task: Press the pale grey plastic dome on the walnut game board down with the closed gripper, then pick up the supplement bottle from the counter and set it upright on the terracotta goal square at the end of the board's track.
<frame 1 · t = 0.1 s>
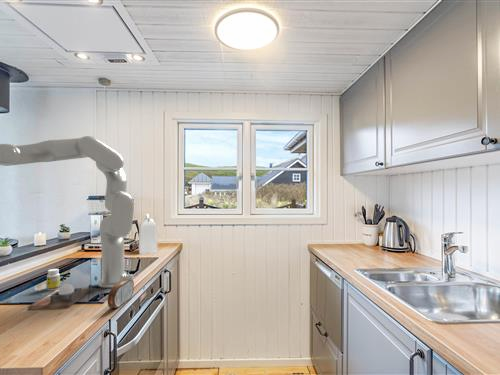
game board: (61, 299, 113), on the counter
tin: (122, 304, 109), on the counter
supplement bottle: (53, 289, 126), on the counter
dome: (66, 289, 112), point 5 cm above the counter, slide at 0.0 cm
milk: (147, 251, 197), on the counter
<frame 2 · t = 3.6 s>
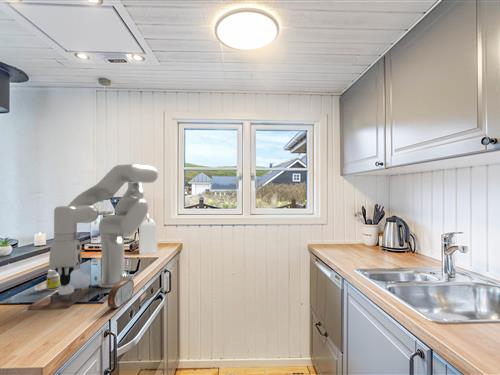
hand: (65, 284, 111), 7 cm above the counter, tool pointing down, fingers closed
dome: (66, 289, 112), point 5 cm above the counter, slide at 0.0 cm, touching gripper
everything else where it was.
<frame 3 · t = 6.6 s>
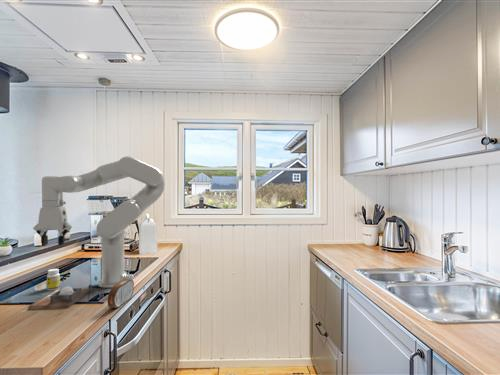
hand: (53, 244, 126), 20 cm above the counter, tool pointing down, fingers open, 6 cm apart
dome: (66, 292, 112), point 4 cm above the counter, slide at 1.0 cm
everything else where it was.
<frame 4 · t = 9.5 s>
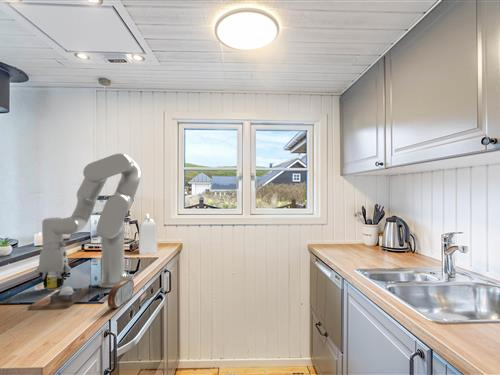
hand: (53, 286, 126), 1 cm above the counter, tool pointing down, fingers closed on supplement bottle, 4 cm apart
supplement bottle: (53, 289, 126), on the counter, touching gripper
everything else where it was.
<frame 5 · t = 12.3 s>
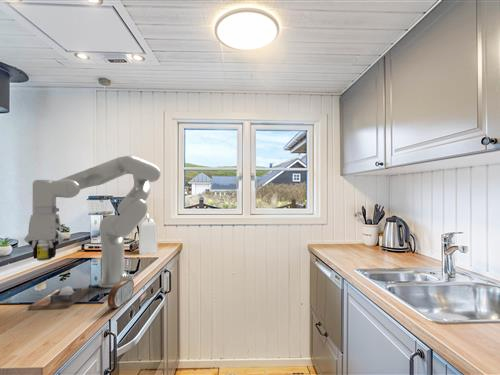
hand: (44, 257, 111), 18 cm above the counter, tool pointing down, fingers closed on supplement bottle, 4 cm apart
supplement bottle: (44, 260, 111), point 16 cm above the counter, touching gripper
everything else where it was.
when the fingers open (4 cm above the counter, at t = 15.3 s): supplement bottle stays where it is, point 2 cm above the counter.
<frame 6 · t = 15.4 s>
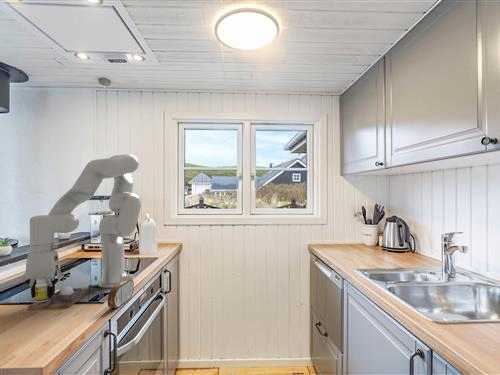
hand: (43, 295, 107), 4 cm above the counter, tool pointing down, fingers open, 4 cm apart
supplement bottle: (43, 300, 107), point 2 cm above the counter
everything else where it was.
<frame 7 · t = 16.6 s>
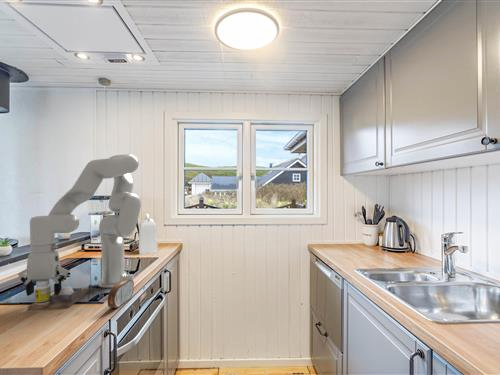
hand: (44, 293, 108), 5 cm above the counter, tool pointing down, fingers open, 9 cm apart
supplement bottle: (43, 303, 107), point 1 cm above the counter, touching game board
everything else where it was.
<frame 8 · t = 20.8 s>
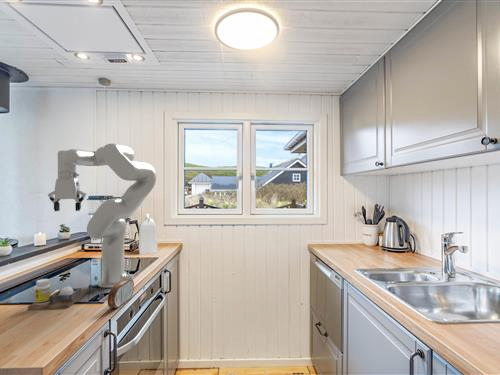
hand: (67, 210, 139), 33 cm above the counter, tool pointing down, fingers open, 9 cm apart
nothing on the counter moved.
at the end: dome slide at 1.0 cm; supplement bottle 0.1 cm from the target spot, point 1.1 cm above the counter; supplement bottle tilted 0° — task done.
